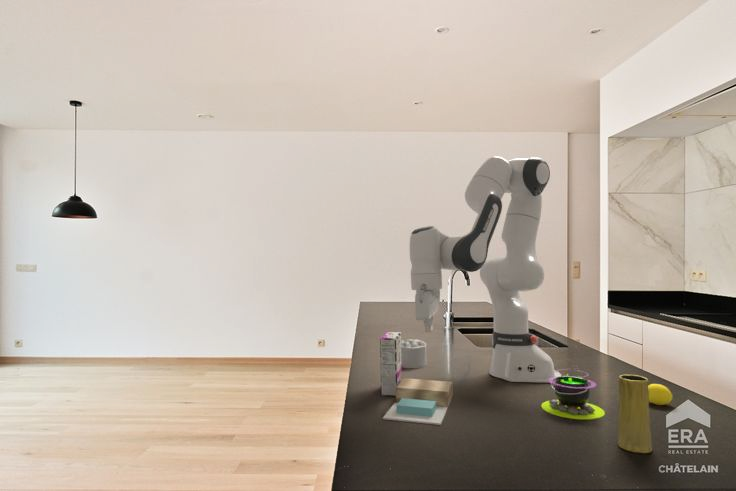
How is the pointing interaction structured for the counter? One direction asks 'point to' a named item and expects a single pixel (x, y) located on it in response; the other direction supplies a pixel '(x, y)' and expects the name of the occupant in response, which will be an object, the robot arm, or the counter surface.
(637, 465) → the counter surface
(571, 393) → the toy cauldron
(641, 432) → the vase
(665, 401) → the lemon
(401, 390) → the wooden block
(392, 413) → the mat
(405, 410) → the teal rectangular block
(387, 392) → the candy bar box
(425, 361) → the lumpy-topped squat cylinder
